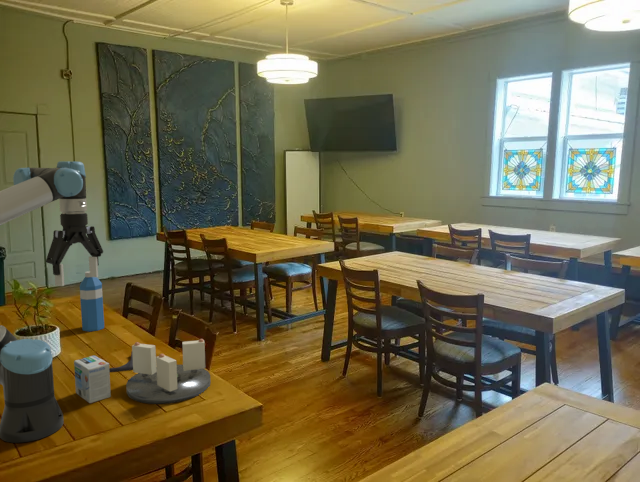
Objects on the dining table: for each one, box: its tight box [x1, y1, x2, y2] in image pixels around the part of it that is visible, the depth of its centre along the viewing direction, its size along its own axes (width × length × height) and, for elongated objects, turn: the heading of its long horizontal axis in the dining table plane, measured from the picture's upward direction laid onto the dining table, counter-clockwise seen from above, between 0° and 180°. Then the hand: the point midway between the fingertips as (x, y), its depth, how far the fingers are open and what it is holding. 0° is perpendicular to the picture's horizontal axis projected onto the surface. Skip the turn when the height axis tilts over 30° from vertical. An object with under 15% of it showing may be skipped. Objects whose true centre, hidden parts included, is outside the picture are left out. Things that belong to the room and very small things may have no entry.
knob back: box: [131, 341, 157, 377], centre depth 169 cm, size 7×3×11 cm, turn 73°
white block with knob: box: [156, 353, 178, 392], centre depth 158 cm, size 7×3×11 cm, turn 48°
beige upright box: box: [181, 338, 206, 373], centre depth 172 cm, size 7×3×11 cm, turn 107°
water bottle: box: [79, 270, 105, 332], centre depth 225 cm, size 9×9×25 cm
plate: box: [125, 364, 211, 405], centre depth 167 cm, size 26×26×4 cm
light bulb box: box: [73, 355, 112, 404], centre depth 160 cm, size 11×7×11 cm, turn 47°
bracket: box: [109, 351, 133, 373], centre depth 187 cm, size 14×15×3 cm
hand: (77, 281), depth 161 cm, fingers open, 13 cm apart
